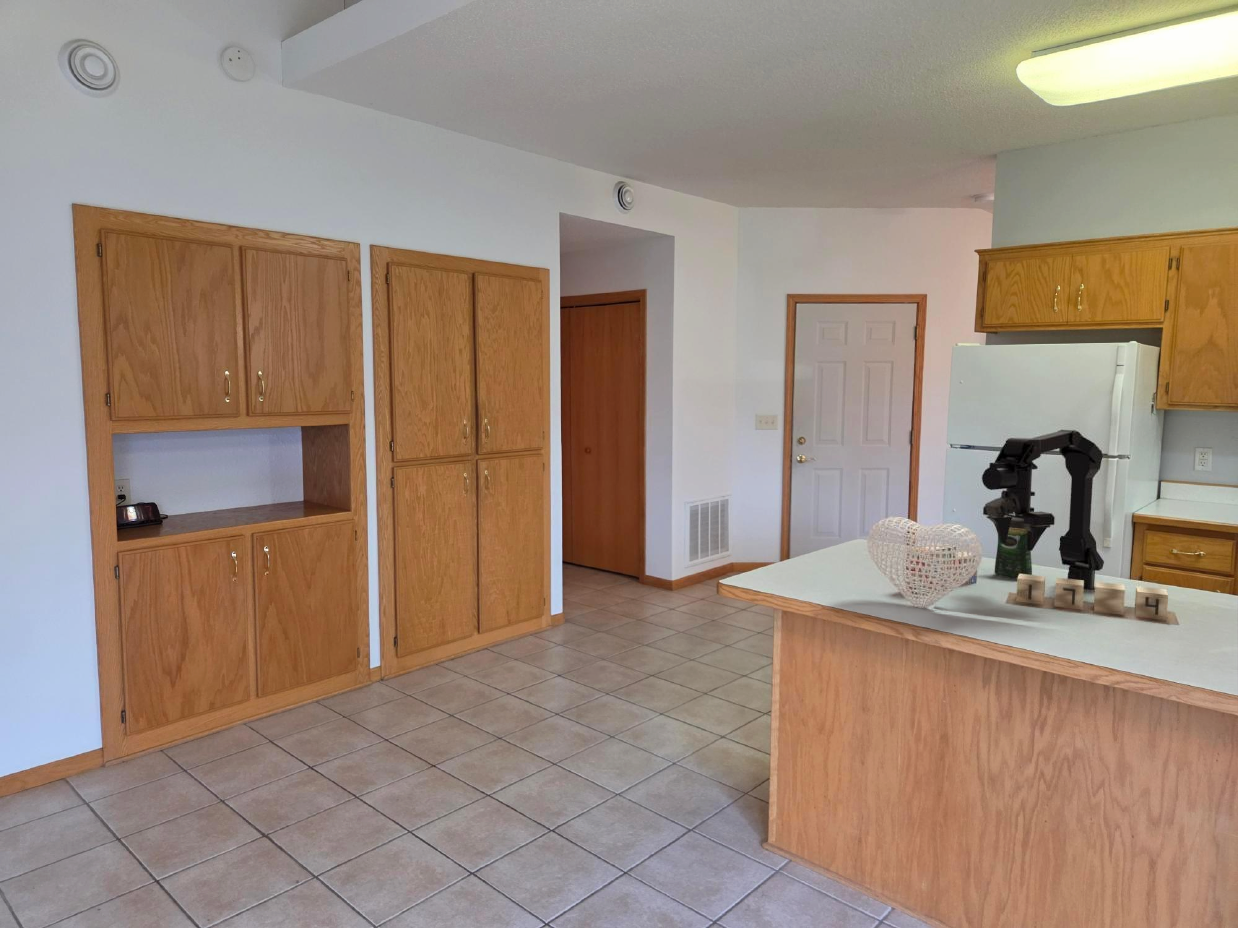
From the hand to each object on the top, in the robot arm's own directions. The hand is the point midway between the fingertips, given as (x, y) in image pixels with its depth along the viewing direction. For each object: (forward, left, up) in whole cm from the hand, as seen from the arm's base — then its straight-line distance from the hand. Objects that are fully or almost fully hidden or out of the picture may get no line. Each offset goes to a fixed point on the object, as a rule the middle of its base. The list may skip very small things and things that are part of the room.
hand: (1016, 547), depth 203 cm
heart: (+27, -4, -14) cm, 31 cm away
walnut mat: (-9, +14, -14) cm, 22 cm away
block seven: (-6, +11, -13) cm, 18 cm away
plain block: (-11, +18, -13) cm, 25 cm away
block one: (-1, +4, -13) cm, 14 cm away
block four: (-17, +24, -13) cm, 32 cm away
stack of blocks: (+8, -17, -15) cm, 24 cm away
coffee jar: (-22, -20, -14) cm, 33 cm away
